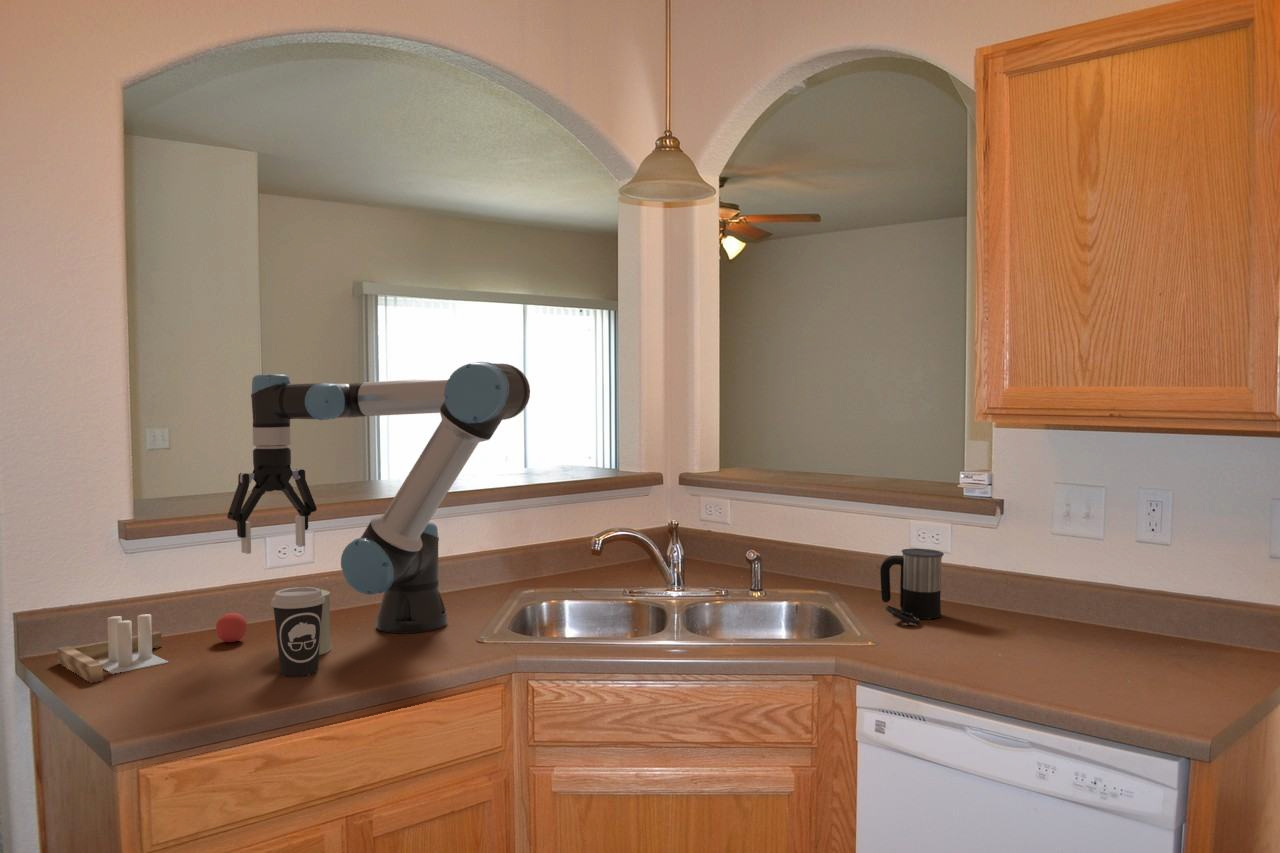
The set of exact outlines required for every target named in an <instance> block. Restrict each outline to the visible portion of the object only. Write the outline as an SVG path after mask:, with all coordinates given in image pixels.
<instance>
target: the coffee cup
mask: <svg viewBox="0 0 1280 853" xmlns="http://www.w3.org/2000/svg"><path fill="white" fill-rule="evenodd" d="M321 590H322V589H320V588H318V587H313V586H312V587H311V586H299V587H298V586H297V587H289V588H283V589H279V590H277V591H275V592H274V597H273V598H271V601H270V606H271V607H272V608H273V615H274V621H275V622H274V625H275V632H276V634H275V635H276V641H277V650H278V661H279V668H280V669H279V670H280V674H282V675H281V676H283V675H285V676H284V677H287V676H301V677H303V676H302V675H307V676H309V675H308V674H311V675H313V674H312V673H314V674H316V673H317V672H318V671H319V660H320V659H319V658H320V657H319V656H320V655H319V647H320V633H321V620H322V607H323V603H324V602H325V597H324V595H323V594H322V593H321ZM317 670H318V671H317ZM316 671H317V672H316ZM315 672H316V673H315Z"/></svg>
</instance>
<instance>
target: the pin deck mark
mask: <svg viewBox="0 0 1280 853" xmlns="http://www.w3.org/2000/svg"><path fill="white" fill-rule="evenodd" d="M98 660H99V661H98ZM96 661H98V662H100V663H102V664H103V669H104V670H103V671H105V670H106V671H105V672H107V671H108V672H107V673H109V674H111V675H116V674H120V672H121V673H124V672H130V671H135V670H140V669H145V668H150V667H155V666H160V665H164V664H165V665H166V664H169V661H168V660H166V659H164V658H162V657H160V656H157V655H155V654H154V653H152V658H150V659H146V660H139V659H138V652H132V661H133V665H132V666H129V667H118V662H109V659H108V657H106V658H105V659H96ZM115 673H116V674H115Z"/></svg>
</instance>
